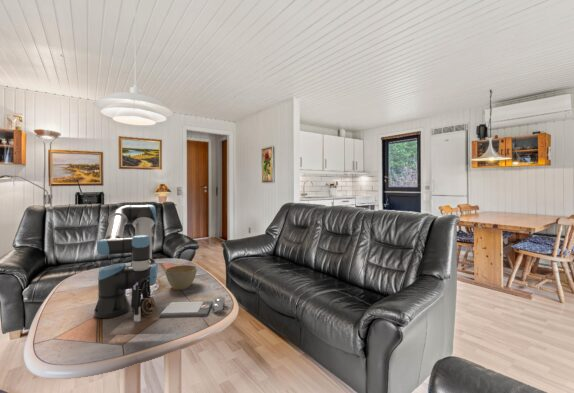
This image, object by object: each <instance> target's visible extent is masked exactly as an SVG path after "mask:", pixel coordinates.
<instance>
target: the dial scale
mask: <svg viewBox="0 0 574 393" xmlns="http://www.w3.org/2000/svg"><path fill="white" fill-rule="evenodd" d="M213 303H214V302H213V301H210V300H209V301H203V300H202V301H173V302H171V301H170V302H169V304H168V305H167V306H166V307H165V308H164V309H163V310H162V312H160V314H159V316H158V317H159V318H182V317H185V318H186V317H207V316H208V314H209V312H210V310H211V307H213Z"/></svg>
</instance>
